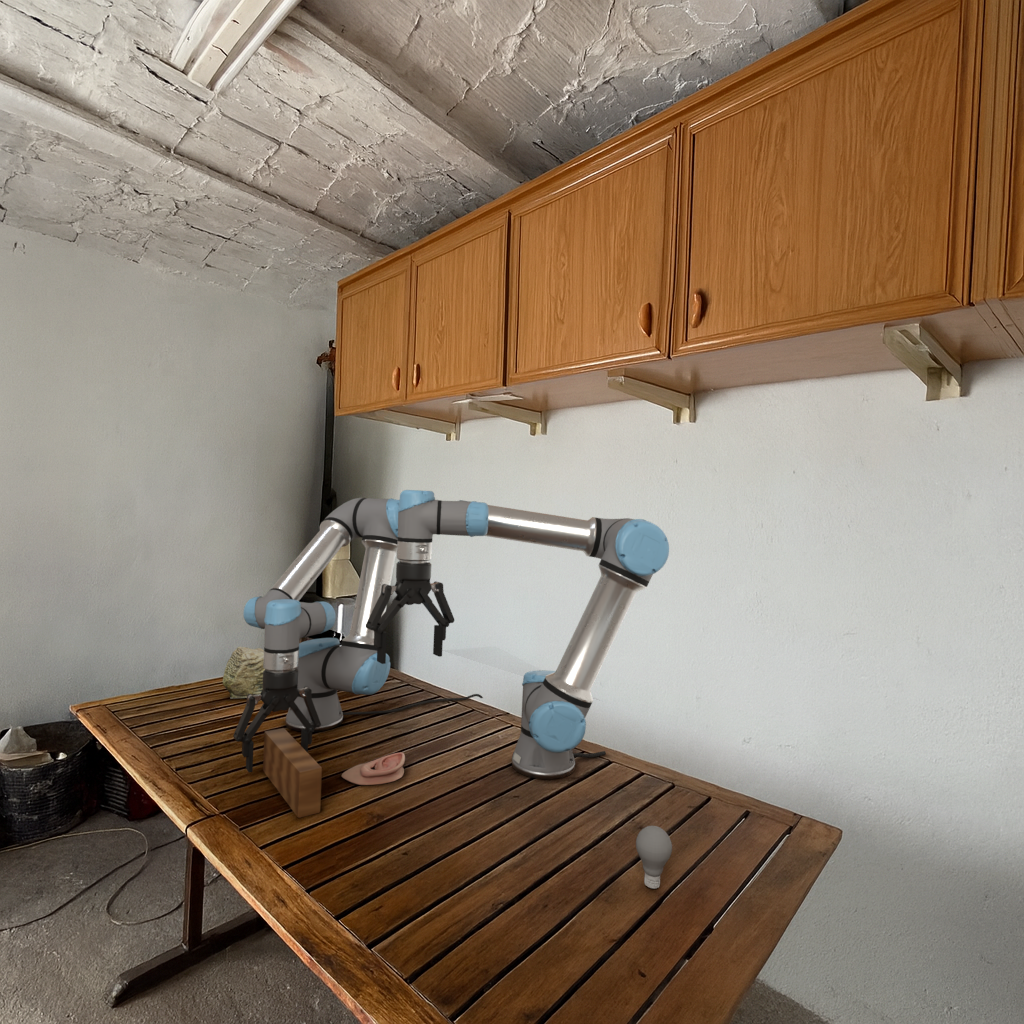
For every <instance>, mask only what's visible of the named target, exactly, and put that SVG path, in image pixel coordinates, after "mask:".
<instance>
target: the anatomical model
mask: <svg viewBox="0 0 1024 1024" xmlns="http://www.w3.org/2000/svg"><path fill="white" fill-rule="evenodd" d="M405 761H406V755H405V752H401V751H400V752H394V753H390V754H387V755H384V756H381V757H378V758H376V759H373V760H371V761H368V762H364V763H359V764H356V765H354V766H352V767H350V768H348V769H347V770H345V771H343V773H342V774H341V778H342V779H344V780H346V781H347V782H349V783H352V784H355V785H359V786H370V785H383V784H387V783H392V782H395V781H397V780H399V779H401V778H402V777H403V776H404V773H405V769H404V767H403V766H404V764H405Z"/></svg>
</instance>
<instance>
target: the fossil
mask: <svg viewBox="0 0 1024 1024" xmlns="http://www.w3.org/2000/svg"><path fill="white" fill-rule="evenodd" d="M263 661H264V648H260V647H258V648H251V647H247V646H246V647H245V646H238V647H237V648H236V649H235V650H233V651H232V653H231V656H230V657H229V659H228V660H227V663H226V666H225V668H224V671H223V675H222V676H223V677H222V685H223V687H224V688H225V690H226V691H228V693H229V698H230V699H247V695H248V694H252V695H258V694H261V692H262V688H263V671H264V670H265V669H264V668H263Z"/></svg>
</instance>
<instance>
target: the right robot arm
mask: <svg viewBox="0 0 1024 1024" xmlns="http://www.w3.org/2000/svg"><path fill="white" fill-rule="evenodd" d="M398 500H399V510H398V541H397V554H396V559H397V560H398V561H397V562H395V579H396V580H395V584H394V585H393V584H391V585H387V584H383V585H382V588H381V594H380V596H379V598H378V601H377V603H376V605H375V607H374V609H373V611H372V613H371V615H370V617H369V619H368V621H367V623H366V628H368V629H370V630H373V631H374V646H375V647H377V661H378V662H380V663H381V664H386V654H387V635H388V633H387V632H386V631H385V629H386V628H388V626H389V624H390V623H391V621H392V620H393V619H394V618H395V616H396V615H397V614H398V612H399V611H400V610H401V609H402V608H404V606H405V605H407V606H412V605H423V606H424V607H425V609H426V610H427V612H428V613H429V614H430V615H431V616H432V618H433V620H434V622H436V623H437V624H434V626H433V643H432V644H433V645H432V646H433V647H432V649H433V650H432V655H435V656H437V657H439V658H440V657H443V646H444V645H443V641H445V640H446V638H447V628H449V627H450V624H453V623H454V622H455V617H454V615H453V612H452V610H451V606H450V605H449V602H448V600H447V598H446V597H447V596H446V595H445V593H444V592H445V591H444V590H445V589H444V583H443V582H440V581H437V580H436V581H433V582H432V583H431V578H432V563H431V560H432V559H433V557H432V556H433V537H434V535H438V536H439V535H440V536H441V535H445V536H458V537H460V536H461V537H470V538H473V537H488V538H495V539H502V540H507V541H514V542H520V543H527V544H533V545H538V546H539V545H540V546H546V547H553V548H557V549H566V550H570V551H571V550H572V551H578V552H582V553H583V554H584V555H585V556H586V557H590V558H595V559H600V561H599V563H598V569H599V572H600V576H599V579H598V581H597V584H596V585H595V588H594V589H593V592H592V594H591V596H590V598H589V600H588V602H587V605H586V606H585V608H584V610H583V613H582V614H581V617H580V619H579V621H578V623H577V626H576V628H575V630H574V631H573V633H572V636H571V638H570V640H569V642H568V645H567V646H566V649H565V651H564V653H563V655H562V657H561V659H560V660H559V664H558V666H557V668H556V670H546V669H545V670H530V671H527V672H525V673H524V674H523V678H522V683H521V686H522V697H521V720H520V734H519V737H518V739H517V741H516V745H515V748H514V750H513V753H512V757H511V766H512V768H513V770H514V771H516V773H519V774H521V775H523V776H525V777H528V778H533V779H537V780H558V779H563V778H566V777H568V776H570V775H572V774H573V773H574V772H575V768H576V767H575V766H576V759H575V758H583V759H591V758H597V757H603V756H606V755H607V752H606V750H603V751H598V752H591V753H580V752H573V749H575V748H577V746H579V744H581V742H582V740H583V739H584V737H585V734H586V731H587V729H586V728H587V721H586V717H587V715H588V713H589V710H591V706H592V705H593V702H594V697H593V694H592V692H591V691H592V688H593V685H594V683H595V681H596V679H597V677H598V675H599V673H600V672H601V669H602V666H603V665H604V663H605V661H606V658H607V656H608V654H609V651H610V650H611V647H612V645H613V643H614V641H615V639H616V638H617V635H618V632H619V631H620V629H621V626H622V625H623V622H624V620H625V618H626V616H627V613H628V612H629V609H630V607H631V605H632V603H633V601H634V599H635V597H636V595H637V593H638V592H640V591H644V590H645V589H647V588H648V586H649V583H650V582H651V580H652V577H653V575H654V574H656V573H657V572H659V571H660V570H662V568H664V566H665V564H667V562H668V558H669V555H670V544H669V540H668V536H667V535H666V533H665V532H664V530H663V529H662V528H661V527H660V526H658V525H657V524H655V523H653V522H651V521H649V520H646V519H643V518H629V517H628V518H625V517H624V518H604V517H603V518H602V517H595V516H592V517H590V518H589V519H588V520H587V519H581V518H574V517H569V516H568V517H567V516H562V515H555V514H549V513H543V512H537V511H529V510H523V509H517V508H510V507H504V506H498V505H493V504H492V505H491V504H488V503H486V502H481V501H475V500H474V501H469V500H463V499H462V500H461V499H460V500H442V499H440V500H439V499H436V497H435V493H434V491H433V490H419V489H404V490H402V491H401V493H400V494H399V499H398ZM431 592H433V595H434V597H435V600H436V602H437V605H438V608H439V609H438V608H437V606H436V605H435V603H434V602H433V600H432V598H431V597H430V596H429V594H430V593H431ZM394 593H395V594H396V595H395V597H394V598H393V599H392V601H391V603H390V605H389V606H388V604H389V602H390V599H391V597H392V595H394ZM386 606H387V607H386ZM385 608H386V611H385V613H384V614H383V612H384V610H385ZM439 610H440V611H439ZM382 614H383V615H382Z"/></svg>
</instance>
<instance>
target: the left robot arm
mask: <svg viewBox="0 0 1024 1024" xmlns="http://www.w3.org/2000/svg"><path fill="white" fill-rule="evenodd" d="M399 500H400V499H397V498H396V499H395V498H372V497H356V498H352V499H350V500H347V501H346V502H344V503H342V504H341V505H339V506H338V507H336V508H335V509H334V510H332V511H331V512H330V513H329V514H328V515H327V516H326V517H325V518H324V519H323V520H322V521H321V522H320V525H319V531H318V532H317V533H316V534H315V535H314V537H313V538H312V539H311V540H310V541H309V542H308V544H307V545H305V547H304V548H303V550H302V551H300V553H299V554H298V556H297V557H296V558H295V559H294V560H293V561H292V563H291V564H290V565H289V566H288V567H287V569H286V570H285V571H284V572H283V573H282V575H281V576H280V577H279V578H278V579H277V580H276V582H274V584H273V585H272V586H271V588H270V589H269V590H268V591H267V592H266V594H265V595H264V596H253V597H251V598H250V599H248V600H247V601H246V603H245V605H244V607H243V619H244V621H245V623H246V624H247V625H248V626H250V627H254V628H256V629H261V630H264V642H263V643H264V644H263V645H264V646H263V650H264V661H263V668H264V669H265V670H264V671H263V688H262V692H261V694H258V695H252V694H248V695H247V698H246V704H245V706H244V709H243V711H242V714H241V716H240V719H239V721H238V723H237V726H236V728H235V730H234V733H233V739H234V740H235V741H236V742H237V743H239V742H241V755H242V756H243V758H245V769H246V771H247V772H248V773H249V774H250V773H253V771H254V745H255V743H254V741H253V740H252V739H253V737H254V736H255V735H256V733H257V732H258V730H259V729H260V728H261V726H262V724H263V723H264V721H265V720H266V718H267V717H268V716H270V714H271V713H272V712H273V713H275V712H279V711H287V713H286V715H285V726H286V728H287V729H289V730H291V731H294V732H295V731H296V732H301V733H300V745H301V746H302V747H303V748H304V750H305V751H306V752H307V753H308V754H309V751H308V750H309V746H311V745H312V744H313V733H316V732H325V731H329V730H332V729H335V728H337V727H339V726H340V725H342V723H343V722H344V716H353V715H354V716H355V715H359V716H360V715H377V714H387V713H388V714H389V713H394V712H400V711H404V710H406V709H409V708H412V707H415V706H420V705H425V704H429V703H436V702H446V701H447V702H448V701H465V700H469V699H471V698H474V697H478V698H480V699H484V697H483V695H481V694H479V693H473V694H471V695H468V696H465V697H464V696H463V697H447V698H446V697H445V698H436V699H435V698H434V699H427V700H424V701H418V702H415V703H411V704H407V705H405V706H402V707H399V708H395V709H394V708H393V709H387V710H385V709H384V710H373V711H372V710H371V711H345V712H343V709H342V706H341V702H340V699H339V695H338V691H340V692H346V693H351V694H354V695H363V696H364V695H365V696H371V695H374V694H376V693H378V692H379V691H380V690H381V688H382V687H384V685H385V683H386V681H387V679H388V677H389V674H390V671H391V658H390V656H389V654H388V653H386V664H381V663H380V662H378V661H377V647H375V646H374V631H373V630H370V629H368V628H366V623H367V621H368V619H369V617H370V615H371V613H372V611H373V609H374V607H375V605H376V603H377V601H378V598H379V596H380V594H381V588H382V585H383V584H387V585H392V579H393V574H394V568H395V564H396V559H397V541H398V510H399ZM359 538H361V544H362V545H363V546H364V548H365V552H364V556H363V560H362V561H363V562H362V567H361V572H360V576H359V582H358V588H357V593H356V598H355V602H354V608H353V613H352V618H351V624H350V629H349V633H348V635H346V636H344V638H342V639H341V642H340V640H339V638H337V637H321V638H313V639H307V640H304V641H302V642H300V640H301V639H303V638H307V637H312V636H316V635H320V634H323V633H325V632H327V631H329V630H331V629H332V628H333V627H334V625H335V623H336V619H337V618H336V617H337V616H336V611H335V609H334V607H333V605H331V604H330V603H329V602H328V601H314V602H304V601H300V600H301V599H302V598H303V596H304V595H305V594H306V592H308V590H309V589H310V588H311V587H312V585H313V584H314V582H316V580H317V578H318V577H319V576H320V575H321V574H322V572H323V571H324V570H325V569H326V567H327V566H328V565H329V564H330V562H332V560H333V559H334V557H335V556H336V555H337V553H338V552H339V551H340V550H341V549H342V548H344V547H346V546H348V545H349V544H350V543H351V542H352V541H353V540H355V539H359ZM387 608H388V605H387V606H386V608H385V610H384V612H383V614H384V613H385V611H386V610H387ZM383 614H382V615H383ZM340 644H341V645H340ZM260 701H261V702H262V705H261V706H260V708H259V710H258V712H257V714H256V715H255V716H254V718H253V720H252V721H251V722H250V720H251V718H252V715H253V713H254V712H255V708H256V706H257V705H258V704H259V702H260Z"/></svg>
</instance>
